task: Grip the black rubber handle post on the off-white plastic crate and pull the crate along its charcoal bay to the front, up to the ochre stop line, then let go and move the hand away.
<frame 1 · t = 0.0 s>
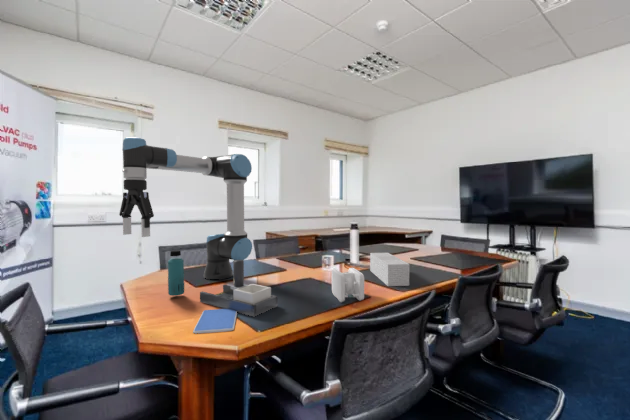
hand: (136, 235, 115), 28 cm above the table, tool pointing down, fingers open, 13 cm apart
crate: (248, 282, 118), point 10 cm above the table, slide at 17.0 cm
beverage bottle: (176, 297, 130), on the table
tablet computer: (217, 322, 105), on the table
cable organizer: (347, 298, 129), on the table
bay: (237, 304, 121), on the table
stack of papers: (387, 278, 163), on the table
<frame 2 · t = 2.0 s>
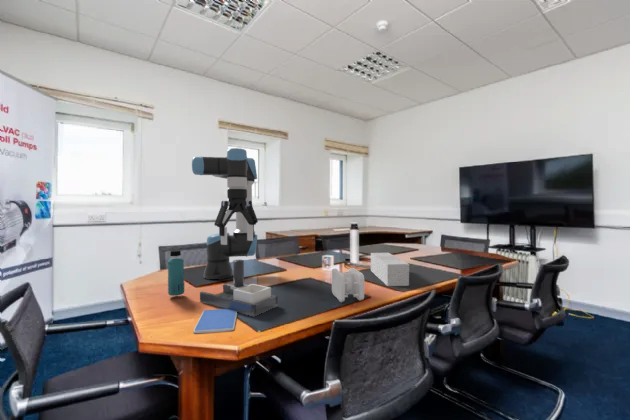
hand: (237, 242, 120), 25 cm above the table, tool pointing down, fingers open, 13 cm apart
nothing on the table moved.
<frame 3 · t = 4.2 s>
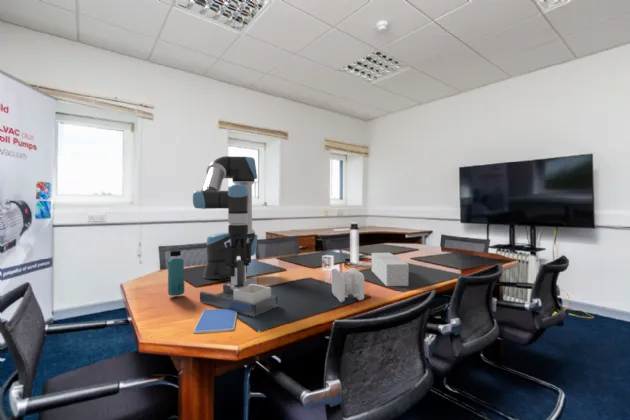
hand: (238, 282, 120), 9 cm above the table, tool pointing down, fingers closed on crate, 4 cm apart
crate: (248, 282, 118), point 9 cm above the table, slide at 17.0 cm, touching gripper
everything else where it was.
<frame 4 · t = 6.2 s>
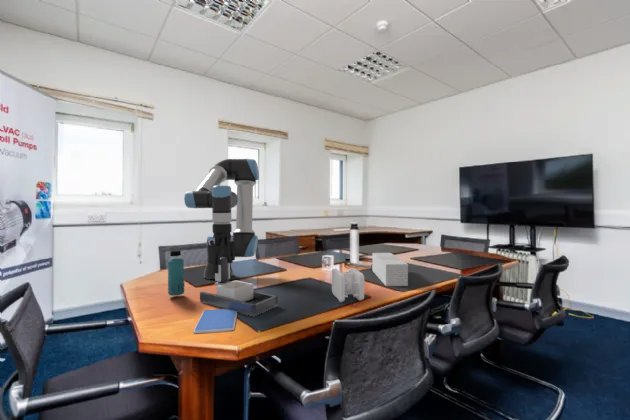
hand: (222, 279, 126), 9 cm above the table, tool pointing down, fingers closed on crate, 4 cm apart
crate: (231, 279, 123), point 9 cm above the table, slide at 7.5 cm, touching gripper
everything else where it was.
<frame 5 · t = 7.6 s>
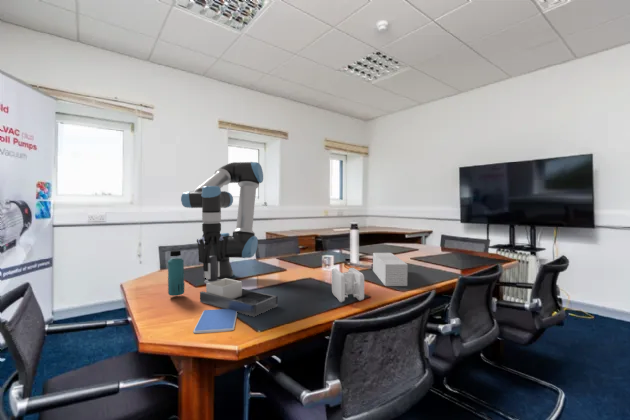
hand: (212, 277, 129), 9 cm above the table, tool pointing down, fingers closed on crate, 4 cm apart
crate: (220, 276, 126), point 9 cm above the table, slide at 1.1 cm, touching gripper
everything else where it was.
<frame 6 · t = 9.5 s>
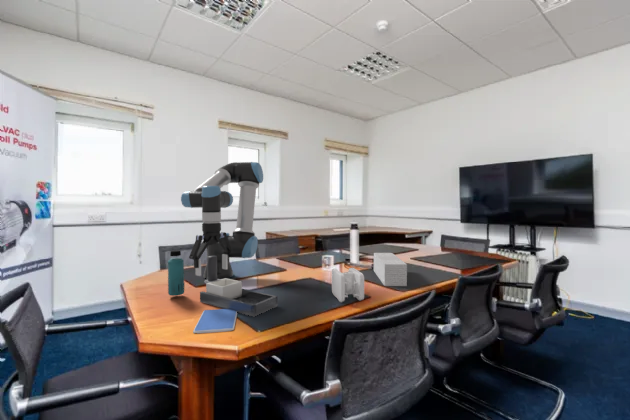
hand: (212, 272, 129), 11 cm above the table, tool pointing down, fingers open, 13 cm apart
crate: (220, 276, 126), point 10 cm above the table, slide at 1.0 cm
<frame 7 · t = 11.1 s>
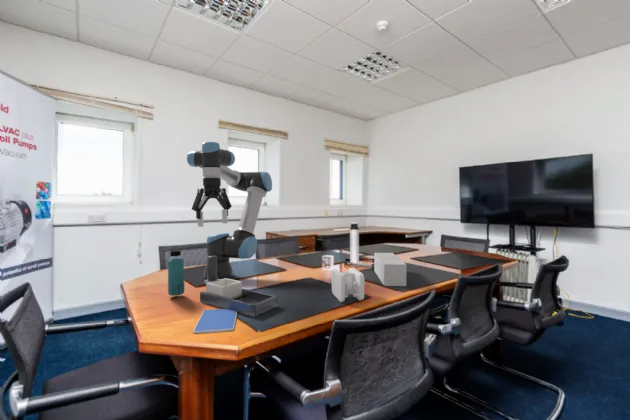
hand: (213, 224, 137), 30 cm above the table, tool pointing down, fingers open, 13 cm apart
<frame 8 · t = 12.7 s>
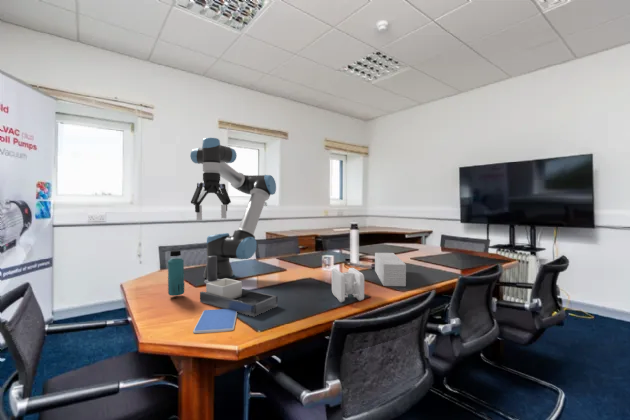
hand: (212, 219, 139), 33 cm above the table, tool pointing down, fingers open, 13 cm apart
at the end: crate slide at 1.0 cm; the gripper is holding nothing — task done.
